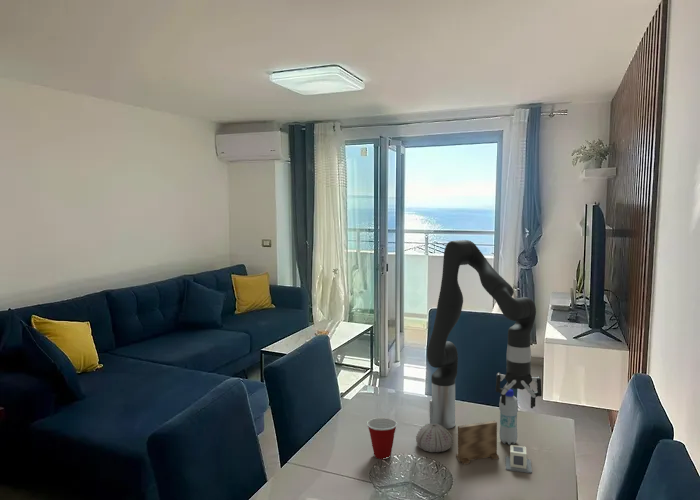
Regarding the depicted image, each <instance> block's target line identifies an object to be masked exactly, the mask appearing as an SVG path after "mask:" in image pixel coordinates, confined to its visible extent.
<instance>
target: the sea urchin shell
mask: <svg viewBox="0 0 700 500" xmlns="http://www.w3.org/2000/svg"><path fill="white" fill-rule="evenodd" d="M420 427H421V426H420ZM415 439H416V440H415V441H416V445H417V446H418V447H419V448H420V449H421V450H423V451H425V452H430V453H440V452H445V451H447V450H449V449H450V448H451V447H452V446H453V444H454V437H453V435H452V434H451V433H450V431H448V429H445V428H444V427H442V426H441V425H439V424H430V423H427V424H425V425H423V426H422V427H421V428H419V431H418V432H417V433H416V436H415Z"/></svg>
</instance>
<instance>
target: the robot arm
mask: <svg viewBox="0 0 700 500" xmlns="http://www.w3.org/2000/svg"><path fill="white" fill-rule="evenodd" d="M442 260H443V261H442V265H443V266H442V274H441V275H442V276H441V284H440V289H439V290H440V291H439V295H438V300H437V305H436V313H435V317H434V323H433V328H432V332H431V335H430V339H429V342H428V346H427V350H426V358H427V362H428V364H429V365H430V366H431V367H433V368H437V369H436V370H435V371H434V372H433V373H432V374H431V399H430V400H429V424H439V425H441V426H442V427H444V428H445V429H446V430H449V429H452V428H454V427H455V426H456V378H457V376H458V364H459V363H458V362H459V354H458V353H459V352H458V349H457V347H456V345H455V344H454V343H453V342H452V341H449V340H448V338H449V335H450V333H451V332H452V330H454V327H456V324H457V323H458V321H459V319H460V317H461V314H462V311H463V305H464V304H463V303H464V297H463V292H462V289H461V287H460V284H459V280H458V277H459V269H460V266H467V265H468V266H470V267H472V268H473V269H474V270H475V271H476V272H477V273H478V276H479V280H480V284H481V286H482V288H483V289H484V290H485V291H486V292H487V294H489V295H490V297H491V298H492V299H494V300H495V301H496V304H497V306H498V308H499V310H500V311H501V314H503V315H504V317H505V318H506V319H508V320H509V321H512V322H515V323H514V324H513V325H512V326H510V327H509V328H508V330H507V348H506V373H505V374H502V373H501V372H497V373H496V380H495V381H496V383H495V392H496V393H500V397H501V403H503V405H505V406H506V392H507V391H509V390H510V389H512V390H517V389H519V390H522V391H523V390H526V391H527V393H529V395H530V409H534V408H536V398H538V397H542V396H543V395H542V391H543V390H542V378H541V376H539V375H537V376H532V351H531V350H532V349H531V334H532V330H533V327H534V323H535V319H536V316H537V315H536V314H537V308H536V305H535V304H536V303H534V301H533V300H532V299H531V298H530V297H526V296H525V297H524V296H523V297H518V298H515V297H513V296H514V292H515V291H514V288H513V286H511V284H510V283H509V282H507V281H506V280H505V279H504V278H503V277H502V276H501V275H500V274H499V273H498V272H497V271H496V270H495V269H494V267H493V266H492V265H491V264H490V262H489V261H488V260H487V258H486V257H485V256H484V254H483V253H482V251H481V250H480V249H479V248H478V246H477V245H476V244H475V243H474V242H473V241H471V240H468V239H462V240H461V239H460V240H450V241H448V242H447V244H446V245H445V247H444V253H443V259H442ZM504 379H505V380H506V384H504V385H503V388H502V387H501V382H502V381H503V380H504ZM532 382H534V384H535V385H536V391H535V390H534V389H533V388H532V386H531V383H532Z"/></svg>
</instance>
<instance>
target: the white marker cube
mask: <svg viewBox="0 0 700 500" xmlns="http://www.w3.org/2000/svg"><path fill="white" fill-rule="evenodd" d="M509 448H510V449H509V452H510V453H509V457H510V467H517V468H524V469H526V466H527V459H528V458H527V456H528V455H527V447H526V446H521V445H515V444H510V445H509Z"/></svg>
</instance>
